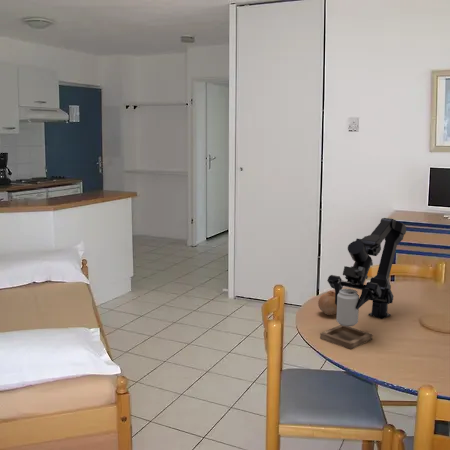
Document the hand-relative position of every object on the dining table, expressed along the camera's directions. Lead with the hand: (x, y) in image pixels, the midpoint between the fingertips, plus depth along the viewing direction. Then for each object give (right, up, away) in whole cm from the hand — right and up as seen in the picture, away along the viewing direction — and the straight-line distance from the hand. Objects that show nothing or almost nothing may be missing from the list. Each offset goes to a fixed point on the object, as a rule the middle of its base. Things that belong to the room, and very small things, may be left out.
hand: (346, 306), depth 191 cm
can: (+1, -6, +2) cm, 7 cm away
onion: (0, -8, +28) cm, 29 cm away
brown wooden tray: (+1, -12, +3) cm, 12 cm away
